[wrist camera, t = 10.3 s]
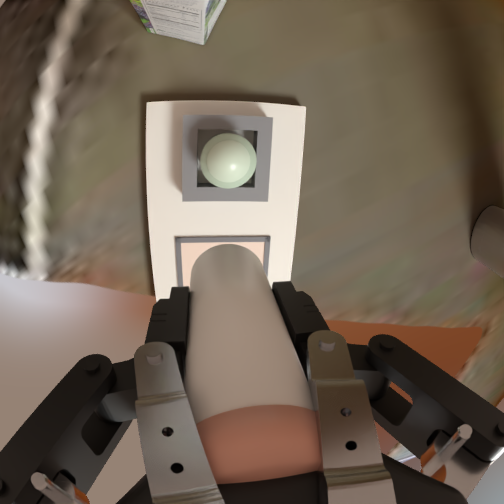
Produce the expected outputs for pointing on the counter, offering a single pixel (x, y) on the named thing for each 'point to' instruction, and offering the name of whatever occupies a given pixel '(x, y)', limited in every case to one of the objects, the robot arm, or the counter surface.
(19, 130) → the counter surface
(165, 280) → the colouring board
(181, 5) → the syrup box
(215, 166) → the button
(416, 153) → the counter surface
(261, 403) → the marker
